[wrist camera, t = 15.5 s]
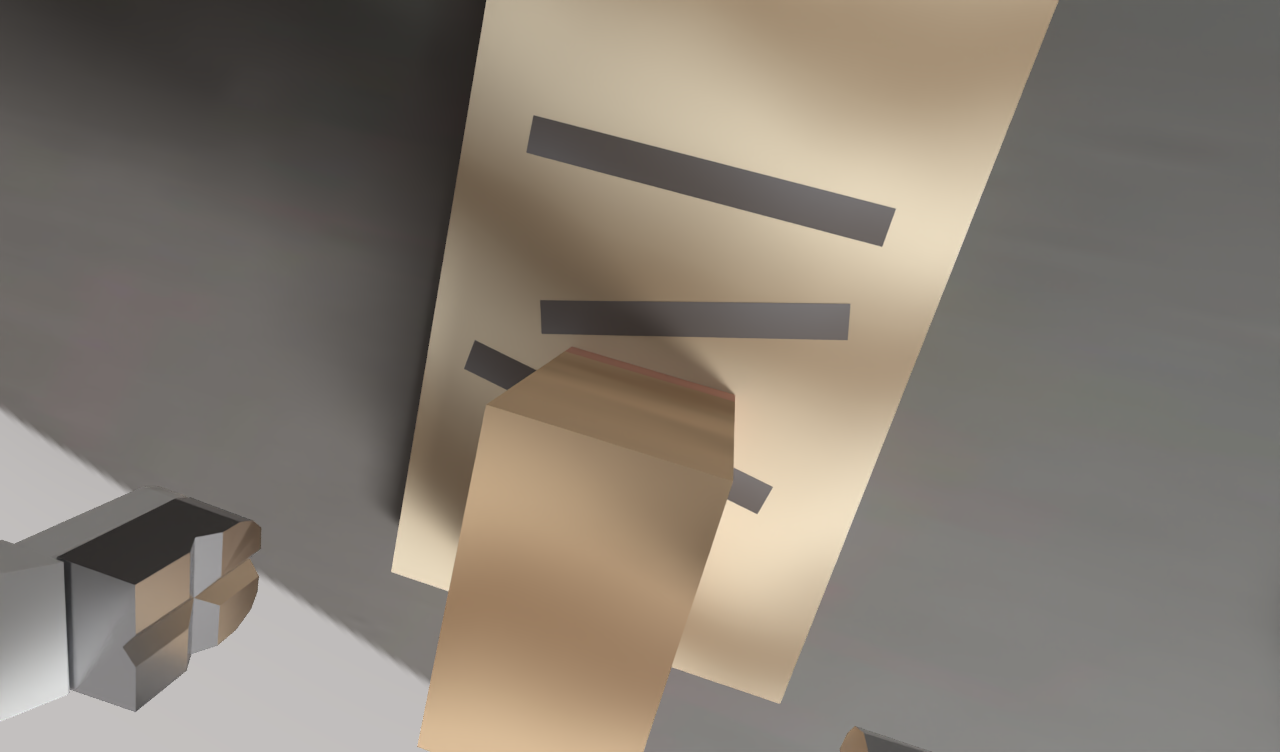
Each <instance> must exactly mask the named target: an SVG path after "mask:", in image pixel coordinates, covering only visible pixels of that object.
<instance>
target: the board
mask: <svg viewBox="0 0 1280 752" xmlns="http://www.w3.org/2000/svg"><path fill="white" fill-rule="evenodd" d="M1057 3H1058V0H486V6H485V12H484V18H483V24H482V30H481V36H480V42H479V48H478V54H477V60H476V66H475V72H474V78H473V84H472V90H471V96H470V102H469V108H468V114H467V120H466V126H465V132H464V138H463V144H462V150H461V156H460V162H459V168H458V174H457V180H456V186H455V192H454V198H453V204H452V210H451V216H450V222H449V228H448V234H447V240H446V246H445V252H444V258H443V264H442V270H441V276H440V282H439V288H438V294H437V300H436V306H435V312H434V318H433V324H432V330H431V336H430V342H429V348H428V354H427V360H426V366H425V372H424V378H423V384H422V390H421V396H420V402H419V408H418V414H417V420H416V426H415V433H414V439H413V445H412V451H411V457H410V463H409V469H408V475H407V481H406V487H405V493H404V499H403V505H402V511H401V517H400V523H399V529H398V535H397V541H396V547H395V553H394V559H393V565H392V571H391V572H393V573H396V574H399V575H402V576H405V577H408V578H411V579H414V580H417V581H420V582H423V583H426V584H429V585H432V586H434V587H437V588H440V589H443V590H446V591H449V587H450V582H451V577H452V572H453V567H454V562H455V557H456V552H457V547H458V542H459V537H460V532H461V527H462V522H463V517H464V512H465V507H466V502H467V497H468V492H469V487H470V482H471V477H472V472H473V467H474V463H475V458H476V453H477V448H478V443H479V438H480V433H481V428H482V423H483V418H484V413H485V408H486V404H488V403H489V402H491V401H492V400H494V399H495V398H497V397H498V396H499V395H501V394H502V393H504V392H505V391H507V390H508V389H510V388H511V387H513V386H514V385H516V384H517V383H519V382H520V381H522V380H523V379H525V378H526V377H527V376H529V375H530V374H532V373H533V372H535V371H536V370H538V369H539V368H541V367H542V366H544V365H545V364H547V363H548V362H550V361H551V360H553V359H554V358H556V357H557V356H558V355H560V354H561V353H563V352H564V351H566V350H567V349H569V348H570V347H575V348H579V349H582V350H586V351H589V352H592V353H596V354H599V355H602V356H606V357H609V358H612V359H616V360H619V361H623V362H626V363H629V364H633V365H636V366H639V367H643V368H646V369H650V370H653V371H656V372H660V373H663V374H666V375H670V376H673V377H676V378H680V379H683V380H687V381H690V382H693V383H697V384H700V385H703V386H707V387H710V388H714V389H717V390H720V391H724V392H727V393H730V394H734V395H735V425H734V470H733V483H732V486H731V489H730V492H729V495H728V499H727V502H726V505H725V508H724V511H723V514H722V517H721V520H720V523H719V526H718V529H717V532H716V535H715V538H714V541H713V544H712V547H711V550H710V553H709V556H708V559H707V562H706V565H705V568H704V571H703V574H702V577H701V580H700V583H699V586H698V589H697V592H696V595H695V598H694V601H693V604H692V607H691V610H690V613H689V616H688V619H687V622H686V625H685V628H684V631H683V634H682V637H681V640H680V643H679V646H678V649H677V652H676V655H675V658H674V661H673V664H672V667H673V668H676V669H679V670H682V671H685V672H688V673H691V674H694V675H697V676H699V677H702V678H705V679H708V680H711V681H714V682H717V683H720V684H723V685H726V686H729V687H732V688H735V689H738V690H741V691H744V692H747V693H750V694H753V695H755V696H758V697H761V698H764V699H767V700H770V701H773V702H776V703H779V704H780V703H781V700H782V698H783V695H784V693H785V690H786V688H787V685H788V683H789V680H790V677H791V675H792V672H793V670H794V667H795V665H796V662H797V660H798V657H799V655H800V652H801V650H802V647H803V645H804V642H805V640H806V637H807V635H808V632H809V629H810V627H811V624H812V622H813V619H814V617H815V614H816V612H817V609H818V607H819V604H820V602H821V599H822V597H823V594H824V592H825V589H826V587H827V584H828V581H829V579H830V576H831V574H832V571H833V569H834V566H835V564H836V561H837V559H838V556H839V554H840V551H841V549H842V546H843V544H844V541H845V539H846V536H847V533H848V531H849V528H850V526H851V523H852V521H853V518H854V516H855V513H856V511H857V508H858V506H859V503H860V501H861V498H862V496H863V493H864V491H865V488H866V485H867V483H868V480H869V478H870V475H871V473H872V470H873V468H874V465H875V463H876V460H877V458H878V455H879V453H880V450H881V448H882V445H883V443H884V440H885V437H886V435H887V432H888V430H889V427H890V425H891V422H892V420H893V417H894V415H895V412H896V410H897V407H898V405H899V402H900V400H901V397H902V395H903V392H904V389H905V387H906V384H907V382H908V379H909V377H910V374H911V372H912V369H913V367H914V364H915V362H916V359H917V357H918V354H919V352H920V349H921V347H922V344H923V341H924V339H925V336H926V334H927V331H928V329H929V326H930V324H931V321H932V319H933V316H934V314H935V311H936V309H937V306H938V304H939V301H940V299H941V296H942V294H943V291H944V288H945V286H946V283H947V281H948V278H949V276H950V273H951V271H952V268H953V266H954V263H955V261H956V258H957V256H958V253H959V251H960V248H961V246H962V243H963V240H964V238H965V235H966V233H967V230H968V228H969V225H970V223H971V220H972V218H973V215H974V213H975V210H976V208H977V205H978V203H979V200H980V198H981V195H982V192H983V190H984V187H985V185H986V182H987V180H988V177H989V175H990V172H991V170H992V167H993V165H994V162H995V160H996V157H997V155H998V152H999V150H1000V147H1001V144H1002V142H1003V139H1004V137H1005V134H1006V132H1007V129H1008V127H1009V124H1010V122H1011V119H1012V117H1013V114H1014V112H1015V109H1016V107H1017V104H1018V102H1019V99H1020V96H1021V94H1022V91H1023V89H1024V86H1025V84H1026V81H1027V79H1028V76H1029V74H1030V71H1031V69H1032V66H1033V64H1034V61H1035V59H1036V56H1037V54H1038V51H1039V48H1040V46H1041V43H1042V41H1043V38H1044V36H1045V33H1046V31H1047V28H1048V26H1049V23H1050V21H1051V18H1052V16H1053V13H1054V11H1055V8H1056V6H1057Z"/></svg>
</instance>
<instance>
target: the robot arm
mask: <svg viewBox="0 0 1280 752" xmlns="http://www.w3.org/2000/svg"><path fill="white" fill-rule="evenodd" d="M260 549H261V527H260V526H259V525H257V524H256V523H255V522H254V521H253V520H250V519H247V518H245V517H242V516H239V515H237V514H234V513H231V512H229V511H226V510H223V509H220V508H218V507H215V506H212V505H210V504H207V503H204V502H202V501H199V500H196V499H194V498H191V497H189V498H188V497H186V496H183V495H180V494H178V493H175V492H172V491H170V490H167V489H164V488H162V487H159V486H153V487H141V488H139V489H137V490H134V491H132V492H130V493H128V494H125V495H123V496H121V497H119V498H116V499H114V500H112V501H110V502H107V503H105V504H103V505H101V506H99V507H96V508H94V509H92V510H89V511H87V512H85V513H83V514H80V515H78V516H76V517H74V518H71V519H69V520H67V521H65V522H62V523H60V524H58V525H56V526H53V527H51V528H49V529H47V530H45V531H42V532H40V533H38V534H36V535H33V536H31V537H29V538H26V539H24V540H22V541H20V542H17V543H15V544H13V543H10V542H7V541H4V540H1V541H0V722H1V721H3V720H5V719H8V718H10V717H13V716H16V715H18V714H20V713H23V712H25V711H28V710H31V709H33V708H36V707H38V706H40V705H43V704H46V703H48V702H51V701H53V700H55V699H58V698H61V697H63V696H66V695H68V694H69V693H70V690H73V691H76V692H79V693H82V694H84V695H88V696H90V697H93V698H96V699H99V700H102V701H105V702H108V703H111V704H114V705H117V706H120V707H122V708H125V709H128V710H131V711H134V712H136V711H137V710H139V709H140V708H141V707H142V706H144V705H145V704H146V703H147V702H148V701H150V700H151V699H152V698H153V697H155V696H156V695H157V694H158V693H160V692H161V691H162V690H163V689H165V688H166V687H167V686H168V685H170V684H171V683H172V682H173V681H174V680H176V679H177V678H178V677H179V676H181V675H182V674H183V673H184V672H186V671H187V667H188V664H189V660H190V657H191V654H193V653H196V652H199V651H202V650H205V649H208V648H211V647H214V646H217V645H219V644H220V643H221V642H222V641H223V640H224V639H226V638H227V637H228V636H229V635H230V634H232V633H233V632H234V631H235V630H236V629H237V628H238V626H239V625H240V624H241V622H242V621H243V619H244V618H245V617H246V615H247V614H248V612H249V611H250V609H251V608H252V605H253V602H254V599H255V597H256V594H257V590H258V579H259V576H258V574H257V572H256V570H255V568H254V566H253V564H252V562H251V560H250V558H251V557H252V556H253V555H254V554H255V553H256V552H258V551H259V550H260ZM840 752H931V751H928V750H925V749H922V748H919V747H916V746H913V745H910V744H907V743H904V742H901V741H898V740H895V739H892V738H889V737H886V736H883V735H880V734H877V733H874V732H871V731H868V730H865V729H862V728H859V727H856V726H855V727H854V728H853V729H852V730H850V731H849V732H848V733H847V735H846V737H845V739H844V741H843V744H842V746H841V748H840Z"/></svg>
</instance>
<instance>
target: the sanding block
mask: <svg viewBox="0 0 1280 752" xmlns="http://www.w3.org/2000/svg"><path fill="white" fill-rule="evenodd" d="M734 425H735V395H734V394H730V393H727V392H724V391H720V390H717V389H714V388H710V387H707V386H703V385H700V384H697V383H693V382H690V381H687V380H683V379H680V378H676V377H673V376H670V375H666V374H663V373H660V372H656V371H653V370H650V369H646V368H643V367H639V366H636V365H633V364H629V363H626V362H623V361H619V360H616V359H612V358H609V357H606V356H602V355H599V354H596V353H592V352H589V351H586V350H582V349H579V348H575V347H570V348H569V349H567V350H566V351H564V352H563V353H561V354H560V355H558V356H557V357H556V358H554V359H553V360H551V361H550V362H548V363H547V364H545V365H544V366H542V367H541V368H539V369H538V370H536V371H535V372H533V373H532V374H530V375H529V376H527V377H526V378H525V379H523V380H522V381H520V382H519V383H517V384H516V385H514V386H513V387H511V388H510V389H508V390H507V391H505V392H504V393H502V394H501V395H499V396H498V397H497V398H495V399H494V400H492V401H491V402H489V403H488V404H486V408H485V413H484V418H483V423H482V428H481V433H480V438H479V443H478V448H477V453H476V458H475V463H474V467H473V472H472V477H471V482H470V487H469V492H468V497H467V502H466V507H465V512H464V517H463V522H462V527H461V532H460V537H459V542H458V547H457V552H456V557H455V562H454V567H453V572H452V577H451V582H450V587H449V592H448V597H447V602H446V607H445V612H444V617H443V622H442V627H441V632H440V637H439V642H438V647H437V652H436V657H435V662H434V666H433V671H432V676H431V681H430V686H429V691H428V696H427V702H426V706H425V711H424V716H423V721H422V726H421V731H420V736H419V741H418V746H417V747H419V748H422V749H425V750H428V751H430V752H643V751H644V748H645V745H646V742H647V739H648V736H649V733H650V730H651V727H652V724H653V721H654V718H655V715H656V712H657V709H658V706H659V703H660V700H661V697H662V694H663V691H664V688H665V685H666V682H667V679H668V676H669V673H670V670H671V667H672V664H673V661H674V658H675V655H676V652H677V649H678V646H679V643H680V640H681V637H682V634H683V631H684V628H685V625H686V622H687V619H688V616H689V613H690V610H691V607H692V604H693V601H694V598H695V595H696V592H697V589H698V586H699V583H700V580H701V577H702V574H703V571H704V568H705V565H706V562H707V559H708V556H709V553H710V550H711V547H712V544H713V541H714V538H715V535H716V532H717V529H718V526H719V523H720V520H721V517H722V514H723V511H724V508H725V505H726V502H727V499H728V495H729V492H730V489H731V486H732V483H733V470H734Z"/></svg>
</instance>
